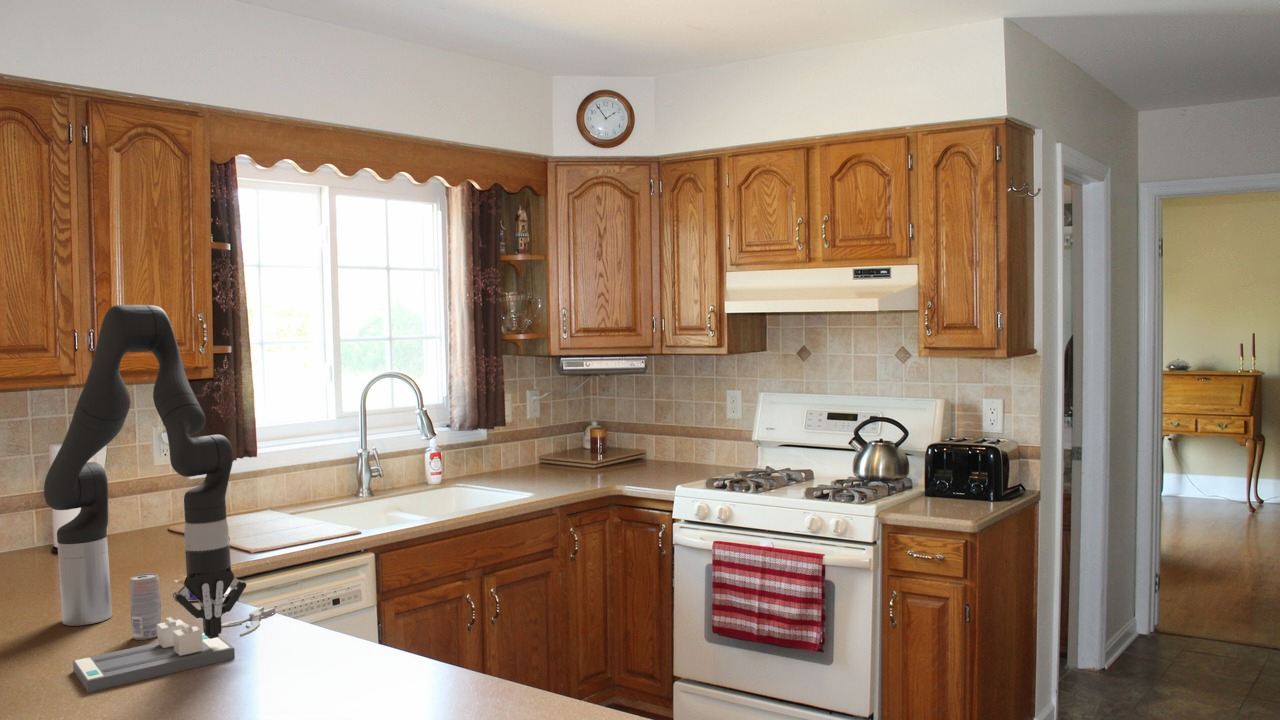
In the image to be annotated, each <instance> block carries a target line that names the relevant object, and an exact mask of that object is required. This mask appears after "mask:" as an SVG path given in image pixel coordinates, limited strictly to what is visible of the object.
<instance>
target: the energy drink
mask: <svg viewBox="0 0 1280 720" xmlns="http://www.w3.org/2000/svg"><path fill="white" fill-rule="evenodd" d="M128 585H129V586H128V587H129V603H130V604H129V605H130V615H131V617H130V618H131V619H130V620H131V635H132V638H133V639H134V640H137V641H145V640H151V639H155V638H158V632H157V624H159V623H163V622H162V607H161V606H162V605H161V603H162V602H161V591H160V588H161V587H160V578H159V576H158V574H157V573H154V572H153V573H150V572H149V573H140V574H136V575H134V576H131V577H130V578H129V581H128Z"/></svg>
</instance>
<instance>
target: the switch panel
mask: <svg viewBox="0 0 1280 720" xmlns="http://www.w3.org/2000/svg"><path fill="white" fill-rule="evenodd" d="M202 638H203V651H199V652H195V653H190V654H186V655H181V656H179V655H178V654H177V653H176V652H175V651H174V646H170V647H166V648H163V647H162V646H161V645H160V644H159V643H158V641H157V642H153V643H149V644H144V645H139V646H134V647H131V648H126V649H120V650H116V651H111V652H106V653H102V654H97V655H94V656H88V657H82V658H78V659H74V660H72V668H73V673H74V674H75V676H76V677H77V678H78V680H79V682H80V683H81V684H82V686H83V687H84V689H85V691H86V692H87V693H88V694H89V693H93V692H96V691H101V690H104V689H105V690H106V689H109V688H113V687H118V686H123V685H127V684H131V683H135V682H140V681H144V680H148V679H153V678H157V677H161V676H165V675H170V674H174V673H178V672H184V671H187V670H191V669H197V668H201V667H204V666H208V665H209V666H210V665H212V664H218V663H222V662H226V661H229V660H234V658H236V655H235V653H236V652H235V647H234V646H233V645H232V644H230V643H229V642H228V641H226V640H225V639H224V638H223V637H222V636H220V635H219V637H217V638H212V639H209V638H208V636H206V635H205V634H204V633H202Z"/></svg>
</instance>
